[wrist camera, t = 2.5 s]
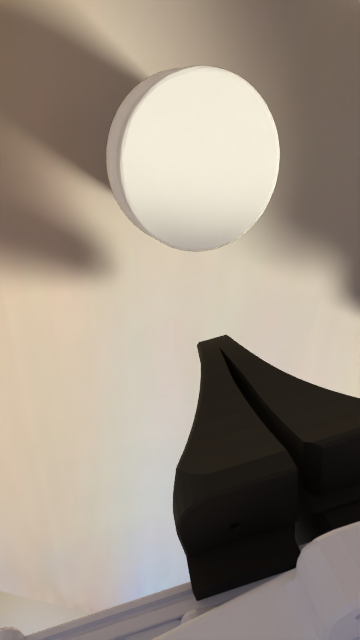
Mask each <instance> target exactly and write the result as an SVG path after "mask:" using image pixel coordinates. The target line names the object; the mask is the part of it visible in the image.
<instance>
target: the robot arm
mask: <svg viewBox="0 0 360 640" xmlns="http://www.w3.org/2000/svg"><path fill="white" fill-rule="evenodd" d="M197 348H198V353H199V357H200V362H201V382H200V392H199V399H198V405H197V410H196V414H195V418H194V422H193V426H192V429H191V432H190V435H189V438H188V441H187V444H186V446H185V449H184V451H183V454H182V456H181V458H180V461H179V463H178V465H177V468H176V474H175V482H174V491H173V514H174V520H175V525H176V531H177V535H178V538H179V540H180V542H181V545H182V547H183V549H184V552H185V554H186V557H187V563H188V569H189V574H190V580H191V582H188V583H185V584H182V585H179V586H176V587H172V588H169V589H166V590H163V591H160V592H157V593H154V594H151V595H148V596H145V597H142V598H139V599H136V600H133V601H130V602H127V603H124V604H121V605H118V606H115V607H112V608H109V609H106V610H103V611H100V612H97V613H94V614H91V615H88V616H85V617H82V618H78V619H76V620H72V621H69V622H66V623H64V624H60V625H57V626H54V627H51V628H48V629H45V630H42V631H39V632H36V633H33V634H30V635H27V636H24V635H23V633H22V632H21V631H20V630H18V629H16V628H13V627H5V628H0V640H360V398H356V397H352V396H348V395H345V394H341V393H338V392H334V391H331V390H328V389H325V388H322V387H319V386H316V385H314V384H311V383H308V382H306V381H303V380H301V379H298V378H296V377H294V376H292V375H290V374H287V373H285V372H283V371H281V370H279V369H277V368H276V367H274V366H272V365H270V364H269V363H267V362H265V361H264V360H262V359H260V358H259V357H257V356H256V355H254V354H253V353H251V352H250V351H248V350H247V349H245V348H244V347H243V346H241V345H240V344H238V343H237V342H236V341H234V340H233V339H232V338H230V337H229V336H227V335H224V336H220V337H216V338H213V339H209V340H206V341H202V342H199V343H198V344H197Z"/></svg>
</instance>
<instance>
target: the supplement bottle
mask: <svg viewBox="0 0 360 640" xmlns="http://www.w3.org/2000/svg"><path fill="white" fill-rule="evenodd" d="M279 159H280V149H279V140H278V133H277V129H276V126H275V123H274V120H273V117H272V114H271V113H270V111H269V109H268V107H267V104H266V103H265V101H264V100H263V98H262V97H261V96H260V94H259V93H258V92H257V91H256V90H255V88H254V87H253V86H251V85H250V84H249V83H248V82H247V81H246V80H244V79H243V78H241V77H240V76H238V75H237V74H235V73H233V72H231V71H228V70H226V69H222V68H219V67H215V66H205V65H198V66H190V67H185V68H176V69H170V70H166V71H162V72H159V73H156V74H154V75H152V76H150V77H148V78H146V79H145V80H143V81H142V82H141V83H139V84H138V85H137V86H136V87H135V88H133V89H132V91H131V92H130V93H129V94H128V95H127V97H126V98H125V99H124V101H123V102H122V103H121V105H120V107H119V108H118V110H117V112H116V114H115V116H114V118H113V121H112V123H111V126H110V130H109V135H108V139H107V145H106V167H107V174H108V178H109V182H110V186H111V189H112V192H113V194H114V197H115V199H116V201H117V203H118V205H119V206H120V208H121V209H122V211H123V212H124V214H125V215H126V216H127V217H128V219H129V220H130V221H131V222H132V223H133V224H134V225H135V226H136V227H138V228H139V229H140V230H141V231H143V232H144V233H146V234H148V235H149V236H151V237H153V238H155V239H157V240H158V241H160V242H161V243H163V244H166V245H168V246H170V247H173V248H176V249H179V250H184V251H194V252H198V251H207V250H212V249H216V248H219V247H222V246H225V245H227V244H229V243H231V242H233V241H234V240H236V239H238V238H239V237H240V236H242V235H243V234H244V233H246V232H247V231H248V230H249V229H250V228H251V227H252V226H253V225H254V223H255V222H256V221H257V220H258V219H259V217H260V216H261V215H262V213H263V211H264V210H265V208H266V206H267V205H268V203H269V200H270V198H271V196H272V193H273V191H274V188H275V185H276V181H277V175H278V170H279Z"/></svg>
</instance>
